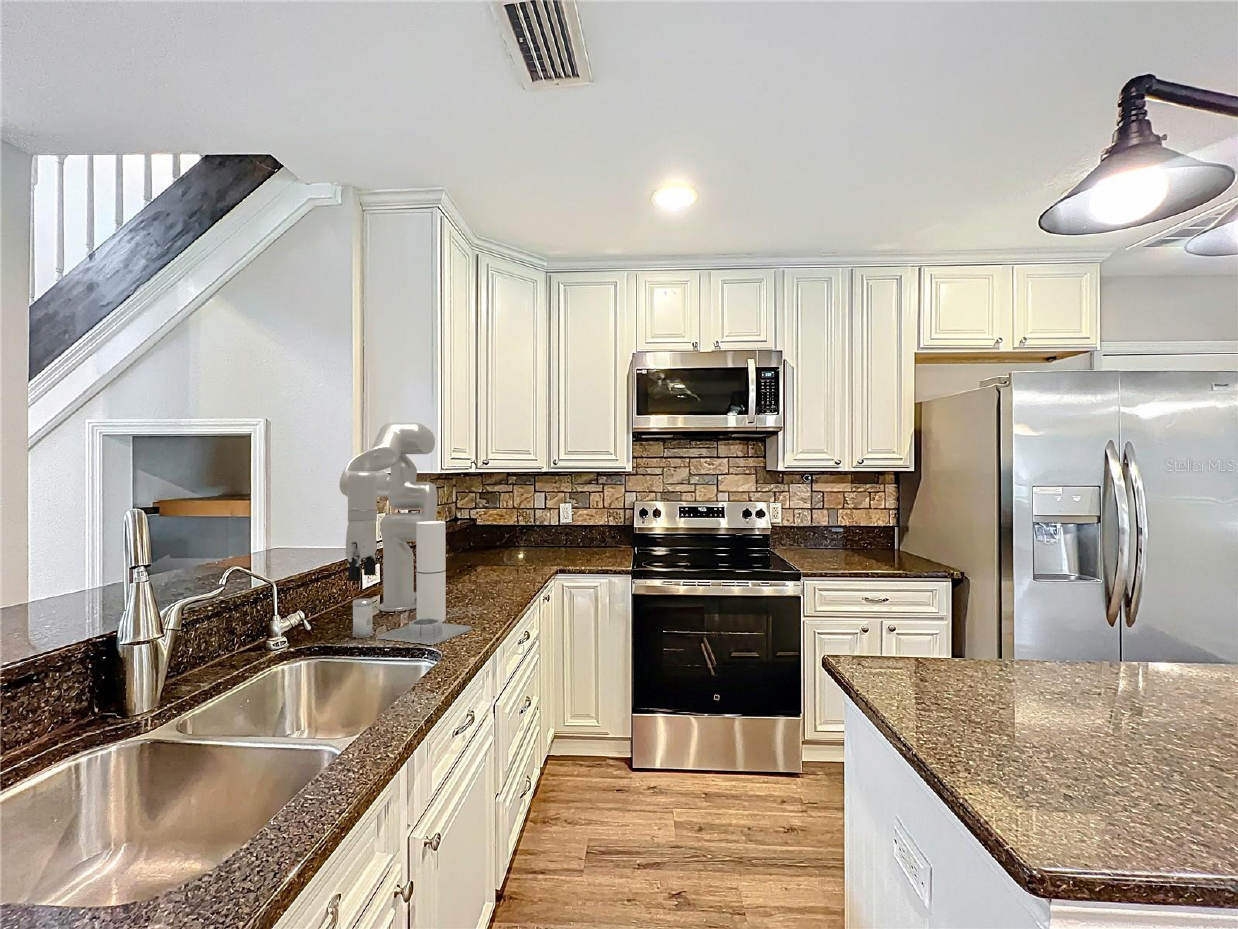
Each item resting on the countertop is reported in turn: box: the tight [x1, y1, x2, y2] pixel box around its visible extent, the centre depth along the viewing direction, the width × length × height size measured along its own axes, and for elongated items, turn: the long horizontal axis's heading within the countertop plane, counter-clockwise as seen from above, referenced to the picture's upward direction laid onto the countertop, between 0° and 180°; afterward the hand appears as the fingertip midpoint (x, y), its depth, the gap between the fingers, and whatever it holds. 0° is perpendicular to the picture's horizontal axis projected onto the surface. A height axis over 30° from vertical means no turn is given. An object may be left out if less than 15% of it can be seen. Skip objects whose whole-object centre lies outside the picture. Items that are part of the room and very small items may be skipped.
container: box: [415, 520, 447, 623], centre depth 197 cm, size 9×9×30 cm
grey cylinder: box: [352, 598, 374, 638], centre depth 178 cm, size 5×5×10 cm
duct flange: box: [376, 618, 472, 646], centre depth 180 cm, size 18×18×4 cm
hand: (362, 578), depth 178 cm, fingers open, 9 cm apart
